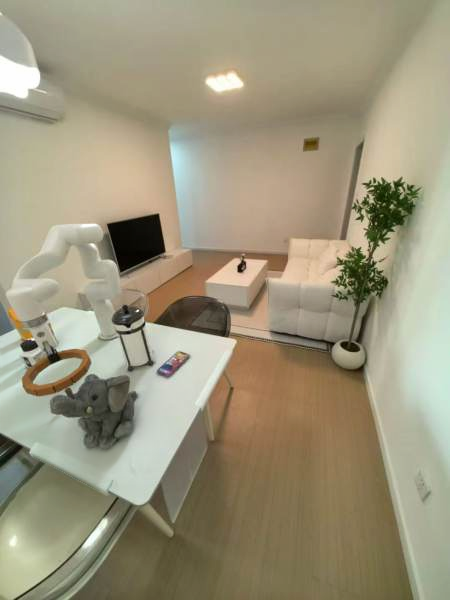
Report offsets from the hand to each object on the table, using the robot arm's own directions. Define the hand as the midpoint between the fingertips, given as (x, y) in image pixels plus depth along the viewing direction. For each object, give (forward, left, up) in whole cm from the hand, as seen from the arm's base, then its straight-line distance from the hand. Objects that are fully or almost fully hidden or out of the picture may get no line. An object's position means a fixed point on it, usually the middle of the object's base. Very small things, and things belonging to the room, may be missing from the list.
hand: (55, 359), depth 89 cm
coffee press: (-29, +5, -15) cm, 33 cm away
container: (+7, -29, -15) cm, 33 cm away
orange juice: (+7, -61, -15) cm, 63 cm away
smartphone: (-39, +20, -15) cm, 46 cm away
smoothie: (+1, -43, -15) cm, 45 cm away
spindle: (0, +9, -15) cm, 17 cm away
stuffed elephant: (-8, +31, -15) cm, 36 cm away
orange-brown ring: (0, +9, -1) cm, 9 cm away
